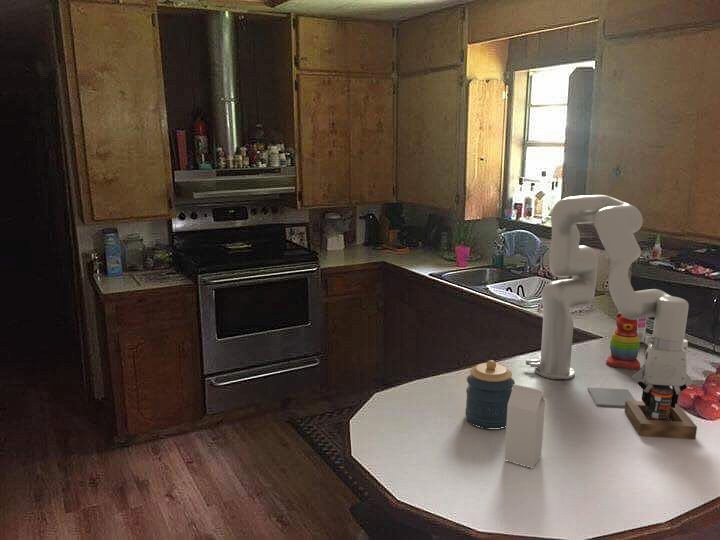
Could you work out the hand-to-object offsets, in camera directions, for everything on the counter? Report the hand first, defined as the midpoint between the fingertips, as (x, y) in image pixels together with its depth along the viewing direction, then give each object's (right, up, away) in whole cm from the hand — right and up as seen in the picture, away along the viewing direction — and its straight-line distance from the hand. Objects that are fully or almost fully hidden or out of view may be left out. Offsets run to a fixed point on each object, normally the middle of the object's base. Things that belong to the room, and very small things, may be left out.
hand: (658, 404), depth 167 cm
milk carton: (-41, -10, -16) cm, 46 cm away
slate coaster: (-5, -2, +17) cm, 18 cm away
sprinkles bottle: (+21, +1, +32) cm, 38 cm away
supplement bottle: (0, -4, +1) cm, 4 cm away
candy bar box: (+23, +10, +70) cm, 74 cm away
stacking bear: (+10, +4, +45) cm, 46 cm away
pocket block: (0, -6, +1) cm, 6 cm away
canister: (-46, -5, +4) cm, 46 cm away
